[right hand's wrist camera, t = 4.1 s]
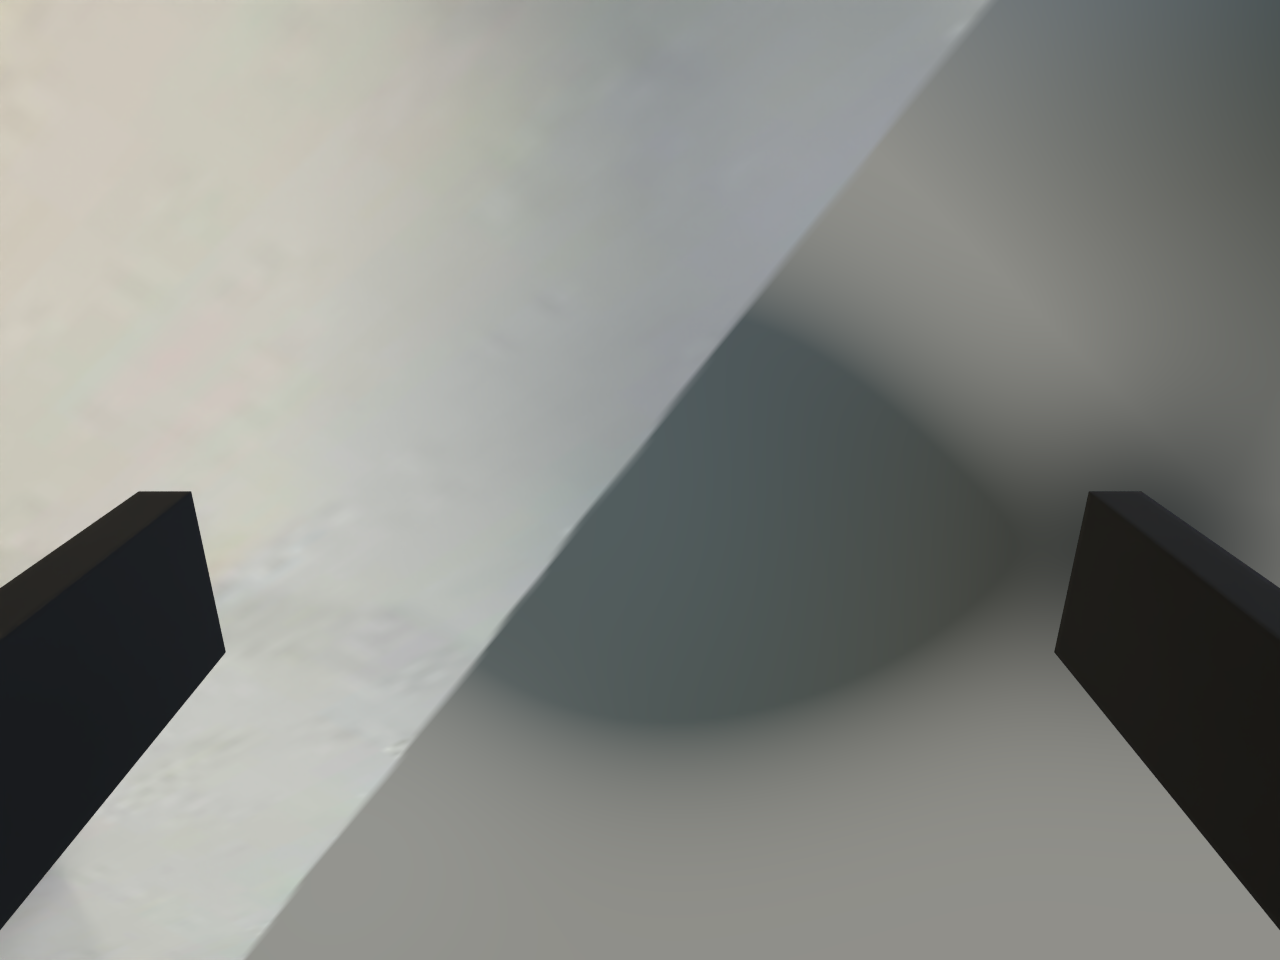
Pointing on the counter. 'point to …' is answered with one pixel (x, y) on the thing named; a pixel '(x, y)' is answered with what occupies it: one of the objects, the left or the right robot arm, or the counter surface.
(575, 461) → the counter surface
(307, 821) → the counter surface
